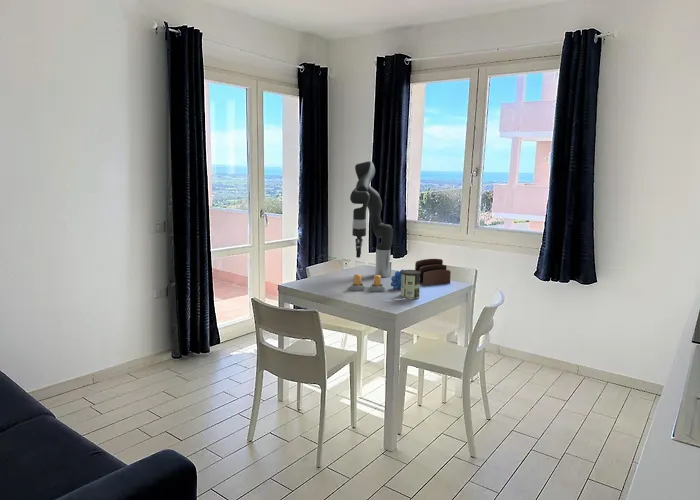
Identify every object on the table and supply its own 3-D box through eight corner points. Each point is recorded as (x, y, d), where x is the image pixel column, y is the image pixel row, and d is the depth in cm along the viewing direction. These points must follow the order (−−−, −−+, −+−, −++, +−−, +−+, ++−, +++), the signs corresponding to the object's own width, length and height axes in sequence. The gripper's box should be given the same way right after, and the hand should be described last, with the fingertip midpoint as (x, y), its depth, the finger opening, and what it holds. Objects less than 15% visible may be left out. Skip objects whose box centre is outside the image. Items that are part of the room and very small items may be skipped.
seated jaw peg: (377, 288, 291) (378, 274, 290) (381, 289, 288) (382, 276, 287) (372, 289, 289) (372, 275, 288) (376, 290, 286) (376, 276, 285)
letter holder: (414, 282, 314) (415, 259, 311) (441, 279, 322) (442, 257, 319) (423, 285, 305) (424, 262, 302) (450, 283, 313) (451, 260, 311)
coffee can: (414, 293, 285) (415, 269, 283) (422, 298, 275) (423, 273, 273) (397, 294, 282) (398, 270, 280) (404, 299, 272) (405, 274, 270)
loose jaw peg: (358, 287, 292) (358, 273, 291) (362, 289, 289) (362, 275, 287) (352, 288, 290) (352, 274, 289) (356, 289, 287) (356, 276, 285)
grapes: (405, 287, 298) (406, 267, 296) (410, 290, 292) (411, 270, 290) (387, 289, 295) (388, 268, 293) (392, 291, 288) (393, 271, 286)
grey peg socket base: (384, 289, 294) (385, 283, 293) (384, 294, 283) (385, 287, 283) (350, 287, 295) (350, 281, 295) (348, 292, 284) (349, 286, 284)
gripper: (353, 225, 290) (352, 253, 293) (351, 228, 276) (351, 258, 279) (366, 225, 290) (365, 253, 293) (365, 229, 276) (364, 258, 279)
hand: (358, 256), depth 286 cm, fingers open, 8 cm apart
